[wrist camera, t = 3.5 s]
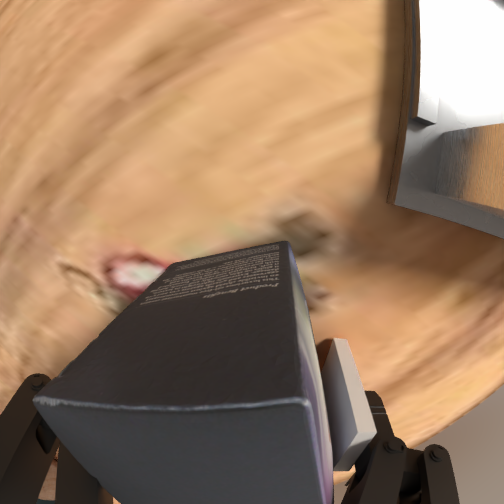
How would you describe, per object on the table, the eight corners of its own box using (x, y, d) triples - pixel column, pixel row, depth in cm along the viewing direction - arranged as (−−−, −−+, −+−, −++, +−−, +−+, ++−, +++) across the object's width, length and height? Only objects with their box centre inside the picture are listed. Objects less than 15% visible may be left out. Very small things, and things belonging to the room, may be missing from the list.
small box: (324, 402, 16) (340, 557, 6) (223, 414, 17) (186, 556, 7) (296, 234, 13) (330, 407, 3) (166, 262, 14) (18, 398, 4)
